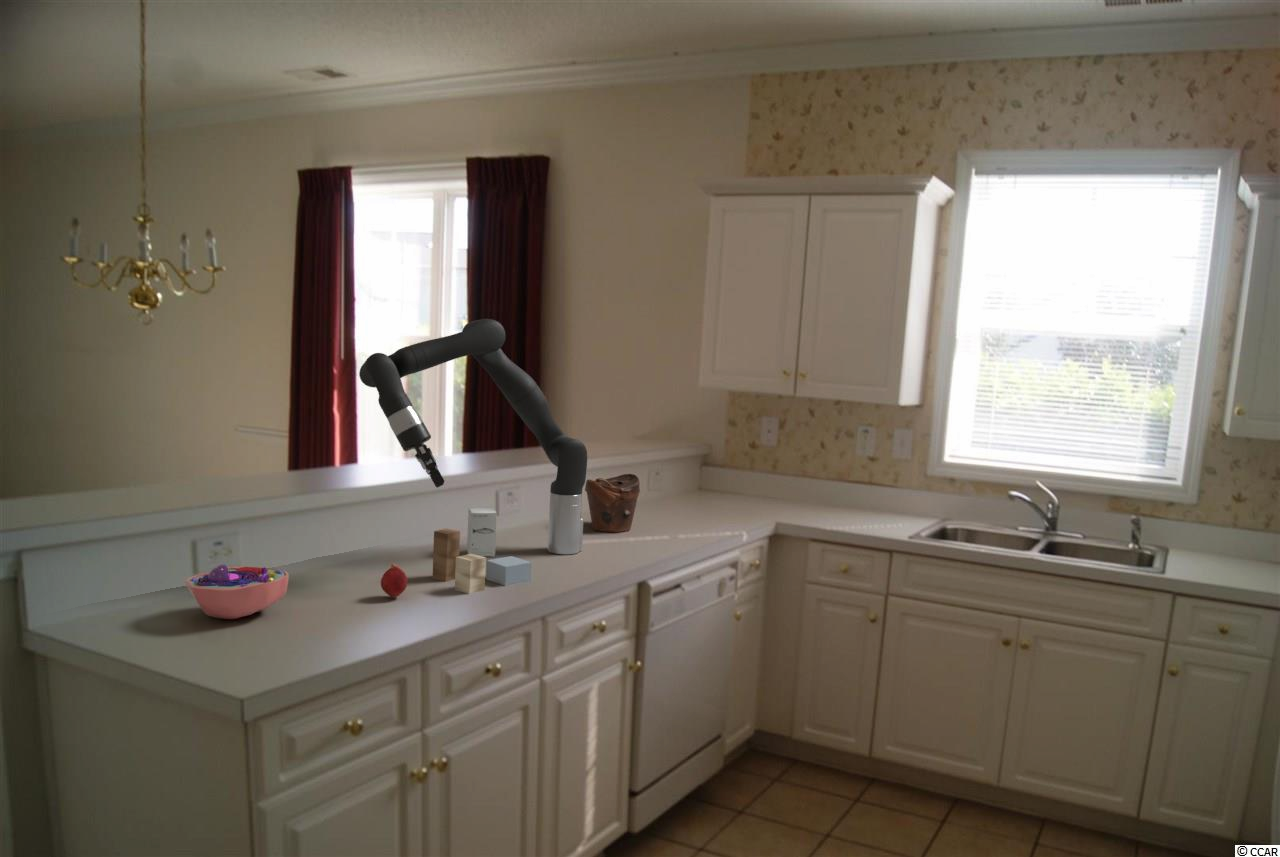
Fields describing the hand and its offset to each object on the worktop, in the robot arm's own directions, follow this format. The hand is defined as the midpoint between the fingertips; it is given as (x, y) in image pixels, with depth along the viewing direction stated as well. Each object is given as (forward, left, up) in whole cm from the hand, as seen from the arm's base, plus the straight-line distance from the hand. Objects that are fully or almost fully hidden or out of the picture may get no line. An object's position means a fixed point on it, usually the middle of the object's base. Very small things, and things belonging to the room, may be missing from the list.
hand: (440, 485), depth 218 cm
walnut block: (-1, +2, -23) cm, 24 cm away
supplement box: (-23, -14, -24) cm, 36 cm away
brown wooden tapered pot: (-79, -20, -24) cm, 85 cm away
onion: (+18, +10, -24) cm, 31 cm away
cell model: (+50, +3, -24) cm, 55 cm away
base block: (-13, +12, -24) cm, 30 cm away
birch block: (0, +14, -23) cm, 27 cm away
